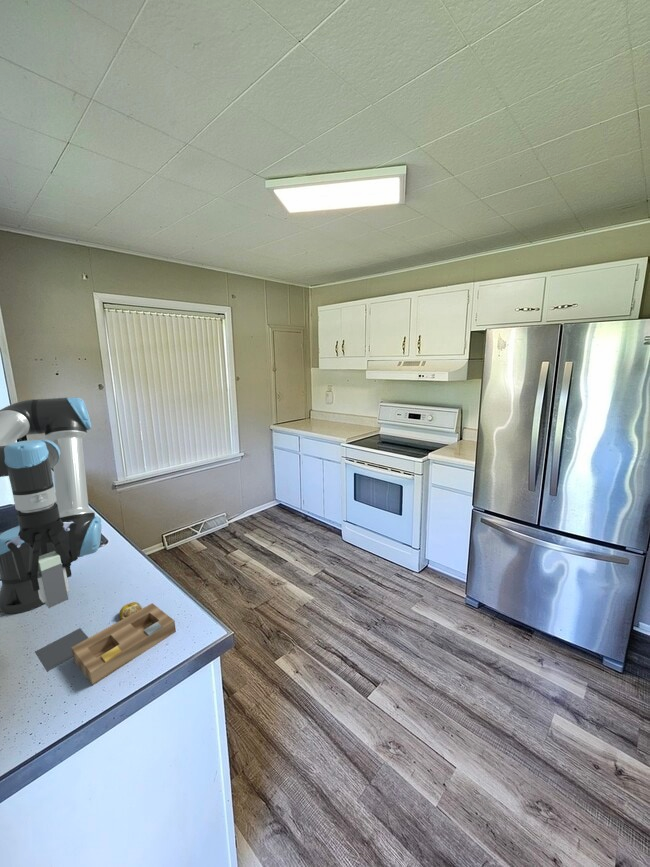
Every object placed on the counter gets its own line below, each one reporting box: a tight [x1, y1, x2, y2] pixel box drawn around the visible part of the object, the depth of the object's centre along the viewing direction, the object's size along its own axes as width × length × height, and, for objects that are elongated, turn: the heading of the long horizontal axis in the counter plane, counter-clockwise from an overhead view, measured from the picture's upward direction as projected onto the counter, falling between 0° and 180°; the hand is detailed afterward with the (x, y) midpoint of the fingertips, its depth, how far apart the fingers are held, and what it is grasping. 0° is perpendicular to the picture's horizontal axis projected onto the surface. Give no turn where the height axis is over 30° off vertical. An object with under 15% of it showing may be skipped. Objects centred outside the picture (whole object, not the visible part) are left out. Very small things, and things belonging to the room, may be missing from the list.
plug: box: [38, 551, 69, 609], centre depth 87 cm, size 4×4×12 cm
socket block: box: [71, 603, 177, 686], centre depth 90 cm, size 12×20×4 cm, turn 142°
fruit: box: [118, 601, 143, 621], centre depth 101 cm, size 8×8×4 cm
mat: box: [34, 627, 89, 672], centre depth 90 cm, size 10×10×1 cm
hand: (54, 594), depth 87 cm, fingers closed on plug, 4 cm apart
